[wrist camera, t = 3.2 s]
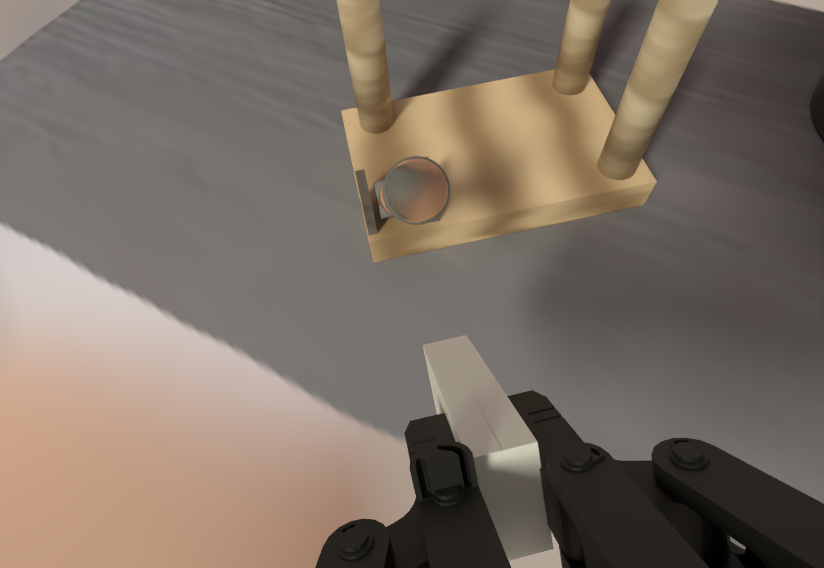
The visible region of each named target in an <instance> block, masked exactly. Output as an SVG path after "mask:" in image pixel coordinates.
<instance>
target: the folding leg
mask: <svg viewBox="0 0 824 568" xmlns="http://www.w3.org/2000/svg"><path fill="white" fill-rule="evenodd" d="M373 185H374V190H375V195H376V200H377V205H378V209H379V213H380V217H381V219H383V218H388V217H393V216H394V217H395V218H396V219H398V220H400V221H402V222H404V223H407V224H411V225H422V224H427V223H429V222H432V221H433V220H435V219H436V218H438V217H439V216H440V215H441V214H442V213H443V211H444V210H445V208H446V207H447V205H448V202H449V198H450V183H449V179H448V177H447V175H446V173H445V171H444V170H443V168H442V167H441V166H440V165H439V164H437V163H436V162H435V161H433V160H431V159H429V158H426V157H421V156H412V157H407V158H404V159H402V160H400V161H399V162H397V163H396V164H395V165H394V166H393V167H392V168H391V169H390V170H389V172H388V173H387V175H386V177H385V179H384V180H382V181H377V182H373Z"/></svg>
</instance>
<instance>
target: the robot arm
mask: <svg viewBox="0 0 824 568" xmlns="http://www.w3.org/2000/svg"><path fill="white" fill-rule="evenodd" d="M811 111H812V117H813V120H814V123H815V126H816V128H817V130H818V132H819V133H820V135H821V136H822V138H823V139H824V80H823V81H822V83H821V84H820V85H819V87H818V88H817V89H816V91H815V93H814V95H813V98H812V104H811ZM423 348H424V353H425V358H426V363H427V368H428V373H429V378H430V382H431V387H432V392H433V397H434V402H435V407H436V412H437V415H434V416H429V417H425V418H421V419H417V420H413V421H410V422H409V425H408V427H407V429H406V431H405V437H406V442H407V447H408V452H409V457H410V472H411V476H412V481H413V485H414V490H415V494H416V499H415V502H414V505H413V506H412V508H411V509H410V511H409V512H408V513H407V514H406V515H405V516H404V517H403V518H401V519H399V520H398V521H396V522H395V523H393V524H391V525H389V526H387V527H385V526H384V524H382V523H380V522H378V521H376V520H372V519H360V520H355V521H351V522H349V523H347V524H345V525H343V526H341V527H339V528H338V529H337V530H336V531H334V532H333V534H331V535H330V536H329V537H328V539H327V541H326V543H325V544H324V546H323V548H322V551H321V554H320V556H319V559H318V562H317V565H316V567H315V568H511V566H510V564H509V560H512V559H517V558H520V557H524V556H528V555H532V554H535V553H539V552H543V551H547V550H551V549H553V543H552V537H551V531H552V533H553V535H554V537H555V539H556V540H557V542H558V544H559V549H560V555H561V562H562V568H824V504H823V503H821V502H819V501H817V500H815V499H813V498H812V497H810V496H808V495H806V494H804V493H802V492H800V491H798V490H796V489H795V488H793V487H791V486H789V485H787V484H785V483H783V482H781V481H779V480H778V479H776V478H774V477H772V476H770V475H768V474H766V473H764V472H762V471H761V470H759V469H757V468H755V467H753V466H751V465H749V464H747V463H745V462H744V461H742V460H740V459H738V458H736V457H734V456H732V455H730V454H728V453H727V452H725V451H723V450H721V449H719V448H717V447H715V446H713V445H711V444H708V443H706V442H703V441H701V440H696V439H690V438H672V439H668V440H665V441H661V442H660V443H659V444H657V445H656V446H655V447H654V449H653V452H652V461H619V460H614V459H613V458H612V457H611V455H610V454H609V453H608V452H606V451H605V450H604V449H602V448H601V447H599V446H596V445H593V444H590V443H584V442H583V441H582V439H581V438H580V437H579V436H578V435H577V433H576V432H575V431H574V430H573V429H572V427H571V426H570V425H569V424H568V423H567V421H566V420H565V419H564V418H563V417H562V416H561V414H560V413H559V412H558V411H557V409H555V407H554V406H553V405H552V403H551V402H550V401H549V400H548V399H547V397H545V396H543V395H541V394H539V393H537V392H535V391H527V392H523V393H519V394H515V395H511V396H507V395H506V394H505V392H504V391H503V389H502V388H501V386H500V385H499V383H498V382H497V380H496V379H495V377H494V376H493V374H492V373H491V371H490V370H489V368H488V367H487V365H486V364H485V362H484V361H483V359H482V358H481V356H480V355H479V353H478V352H477V350H476V349H475V347H474V346H473V344H472V343H471V341H470V340H469V338H468V337H467V335H464V336H459V337H455V338H451V339H446V340H442V341H438V342H433V343H429V344H425V345H423ZM550 529H551V530H550ZM730 536H731V537H732V538H733V539H735V540H736V541H738V542H739V543H741V544H742V545H744V546H745V547H746V550H745V549H742V548H740V547H738V546H737V545H735V544H734V543H732V542H731V541H730Z"/></svg>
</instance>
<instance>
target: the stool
mask: <svg viewBox="0 0 824 568" xmlns="http://www.w3.org/2000/svg"><path fill="white" fill-rule="evenodd" d="M610 3H611V0H570V5H569V9H568V13H567V18H566V22H565V27H564V31H563V36H562V40H561V45H560V49H559V54H558V58H557V63H556V67H555V70H550V71H544V72H539V73H534V74H529V75H524V76H518V77H513V78H508V79H503V80H498V81H493V82H487V83H482V84H477V85H472V86H467V87H461V88H456V89H451V90H446V91H441V92H436V93H430V94H425V95H420V96H415V97H410V98H404V99H399V100H394V101H391V94H390V85H389V76H388V67H387V58H386V49H385V40H384V31H383V22H382V14H381V5H380V0H337V5H338V10H339V15H340V21H341V26H342V31H343V37H344V42H345V47H346V52H347V58H348V63H349V68H350V74H351V79H352V84H353V89H354V95H355V100H356V105H357V108H353V109H347V110H342V111H341V112H342V117H343V121H344V126H345V131H346V136H347V140H348V145H349V150H350V155H351V160H352V164H353V169H354V174H355V179H356V183H357V188H358V193H359V198H360V203H361V207H362V212H363V217H364V222H365V226H366V231H367V236H368V241H369V245H370V249H371V254H372V258H373V262H378V261H382V260H387V259H392V258H396V257H401V256H406V255H411V254H415V253H420V252H425V251H429V250H434V249H439V248H444V247H448V246H453V245H458V244H462V243H467V242H472V241H477V240H481V239H486V238H491V237H495V236H500V235H505V234H510V233H514V232H519V231H524V230H528V229H533V228H538V227H543V226H547V225H552V224H557V223H561V222H566V221H571V220H576V219H580V218H585V217H590V216H594V215H599V214H604V213H609V212H613V211H618V210H623V209H628V208H632V207H637V206H642V205H644V204H645V202H646V200H647V199H648V197H649V195H650V193H651V191H652V190H653V188H654V186H655V184H656V182H657V181H656V179H655V178H654V176H653V174H652V173H651V171H650V170H649V168H648V166H647V165H646V163H645V162H644V160H643V159H642V157H643V155H644V153H645V151H646V149H647V147H648V145H649V143H650V141H651V139H652V137H653V135H654V133H655V131H656V129H657V126H658V124H659V122H660V120H661V118H662V116H663V114H664V112H665V110H666V108H667V106H668V104H669V102H670V100H671V98H672V95H673V93H674V91H675V89H676V87H677V85H678V83H679V81H680V79H681V77H682V75H683V73H684V71H685V69H686V67H687V64H688V62H689V60H690V58H691V56H692V54H693V52H694V50H695V48H696V46H697V44H698V42H699V40H700V38H701V36H702V34H703V31H704V29H705V27H706V25H707V23H708V21H709V19H710V17H711V15H712V13H713V11H714V9H715V7H716V5H717V3H718V0H659V1H658V4H657V7H656V9H655V12H654V15H653V17H652V20H651V23H650V25H649V28H648V30H647V33H646V36H645V38H644V41H643V44H642V46H641V49H640V52H639V54H638V57H637V59H636V62H635V65H634V67H633V70H632V73H631V75H630V78H629V81H628V83H627V86H626V88H625V91H624V94H623V96H622V99H621V102H620V104H619V107H618V110H617V112H616V115H615V114H614V112H613V111H612V109H611V107H610V106H609V104H608V103H607V101H606V100H605V98H604V96H603V95H602V93H601V92H600V90H599V88H598V87H597V85H596V84H595V82H594V80H593V79H592V77H591V76H590V70H591V67H592V64H593V60H594V57H595V53H596V50H597V47H598V43H599V40H600V36H601V33H602V30H603V26H604V23H605V19H606V16H607V13H608V9H609V6H610ZM412 156H421V157H426V158H429V159H431V160H433V161H435V162H436V163H437V164H439V165H440V166H441V167H442V168H443V170H444V171H445V173H446V175H447V177H448V179H449V183H450V198H449V202H448V205H447V207H446V208H445V210H444V211H443V213H442V214H441V215H440V216H439V217H438V218H436V219H435V220H433V221H432V222H429V223H427V224H422V225H411V224H407V223H404V222H402V221H400V220H398V219H396V218H395V217H394V216H393V217H388V218H383V219H381V217H380V213H379V209H378V205H377V200H376V195H375V190H374V185H373V182H377V181H382V180H384V179H385V177H386V175H387V173H388V172H389V170H390V169H391V168H392V167H393V166H394V165H395V164H396V163H397V162H399V161H400V160H402V159H404V158H407V157H412Z"/></svg>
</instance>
